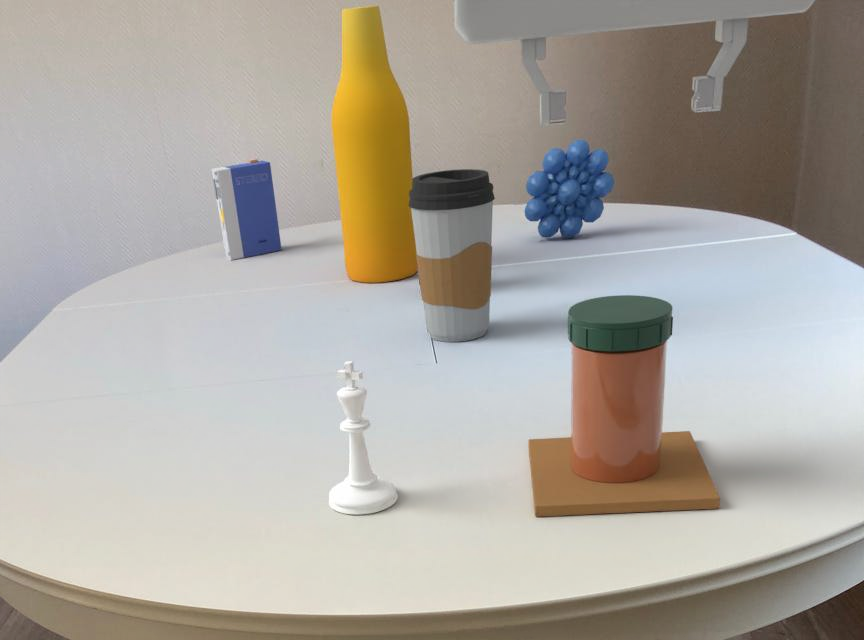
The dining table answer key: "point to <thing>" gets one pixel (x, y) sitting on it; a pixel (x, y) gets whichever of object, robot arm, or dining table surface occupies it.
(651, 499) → the mat
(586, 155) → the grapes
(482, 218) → the coffee cup
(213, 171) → the walkman
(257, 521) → the dining table surface
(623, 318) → the lid
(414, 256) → the beer bottle
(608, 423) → the jar
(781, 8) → the robot arm
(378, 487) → the chess piece
